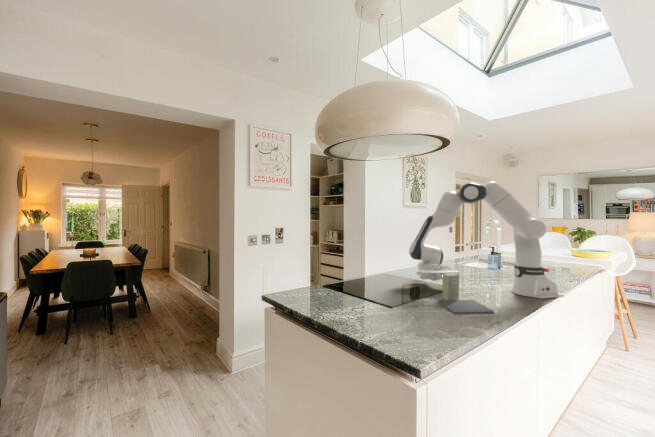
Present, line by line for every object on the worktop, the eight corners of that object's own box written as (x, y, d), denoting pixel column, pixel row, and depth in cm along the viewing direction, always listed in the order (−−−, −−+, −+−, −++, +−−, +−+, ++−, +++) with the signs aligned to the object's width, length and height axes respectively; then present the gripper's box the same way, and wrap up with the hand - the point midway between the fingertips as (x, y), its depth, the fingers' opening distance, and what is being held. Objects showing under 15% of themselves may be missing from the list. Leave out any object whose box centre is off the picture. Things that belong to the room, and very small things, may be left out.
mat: (473, 301, 140) (473, 299, 140) (493, 313, 124) (494, 311, 124) (437, 302, 139) (437, 300, 139) (453, 313, 123) (453, 312, 123)
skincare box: (453, 297, 146) (454, 272, 146) (459, 300, 142) (459, 274, 142) (441, 298, 145) (442, 273, 145) (447, 301, 141) (447, 275, 141)
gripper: (415, 266, 163) (424, 271, 149) (451, 266, 164) (464, 271, 150) (415, 278, 163) (424, 284, 149) (451, 277, 164) (464, 283, 150)
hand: (444, 277), depth 150 cm, fingers closed
